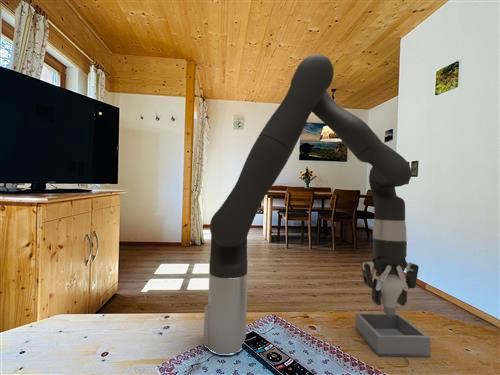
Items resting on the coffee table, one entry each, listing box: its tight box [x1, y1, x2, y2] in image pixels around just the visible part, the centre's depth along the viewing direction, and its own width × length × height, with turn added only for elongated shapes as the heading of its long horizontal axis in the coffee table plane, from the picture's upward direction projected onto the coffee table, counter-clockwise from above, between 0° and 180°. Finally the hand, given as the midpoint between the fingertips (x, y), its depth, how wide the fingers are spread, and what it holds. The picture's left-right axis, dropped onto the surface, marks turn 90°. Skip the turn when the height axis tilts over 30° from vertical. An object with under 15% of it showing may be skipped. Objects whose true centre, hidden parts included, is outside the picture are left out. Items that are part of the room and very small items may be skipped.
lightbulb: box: [376, 274, 403, 316], centre depth 64 cm, size 6×6×11 cm
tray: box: [354, 312, 431, 358], centre depth 63 cm, size 12×12×4 cm
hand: (389, 303), depth 64 cm, fingers closed on lightbulb, 5 cm apart
